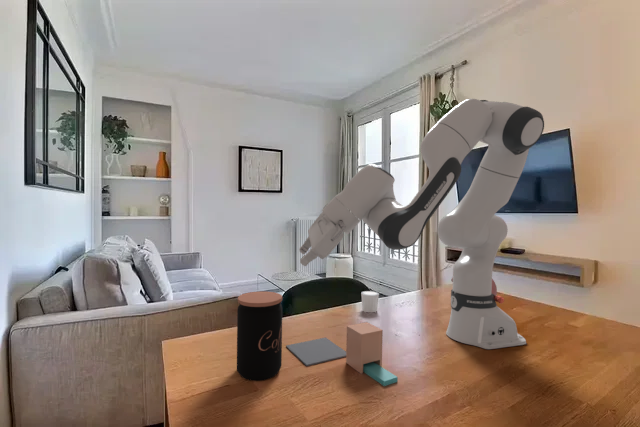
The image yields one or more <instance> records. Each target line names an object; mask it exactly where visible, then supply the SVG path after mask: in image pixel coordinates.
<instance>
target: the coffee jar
mask: <svg viewBox="0 0 640 427" xmlns="http://www.w3.org/2000/svg"><path fill="white" fill-rule="evenodd" d="M282 301H283V295H282V294H280V293H278V292H275V291H250V292H245V293H243V294H239V296H238V297H237V303H238V304H239V305H238V306H237V312H236V313H237V315H236V316H237V319H236V320H237V322H236V324H237V325H236V328H237V330H236V332H237V334H236V371H237V373H238V375H240V377H241V378H243V379H244V380H246V381H252V382H255V381H256V382H261V381H266V380H270V379H272V378H273V377H275V376H276V375H277V374H278V373H279V371H280V369H281V368H282V355H283V353H282V351H283V350H282V349H283V348H282V347H283V345H282V344H283V305H282V303H281V302H282Z"/></svg>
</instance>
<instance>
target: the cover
mask: <svg viewBox="0 0 640 427" xmlns="http://www.w3.org/2000/svg"><path fill="white" fill-rule="evenodd" d="M383 332H384V331H383V329H381V328H380V327H378V326H375V325H373V324H371V323H370V322H367V321H366V322H362V323H361V322H360V323H355V324H350V325H346V346H345V348H346V350H345V351H346V357H345V360H346V361H345V364H348V366H350V367H351V368H353V369H354V370H355V371H357V373H359V374H360V375H363V374H364V372H363V364H366V363H370V362H374V363H376V364H378V365H379V366H381V367H382V368H383V337H384V336H383Z"/></svg>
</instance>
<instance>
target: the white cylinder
mask: <svg viewBox="0 0 640 427" xmlns="http://www.w3.org/2000/svg"><path fill="white" fill-rule="evenodd" d="M360 295H361V308H362V309H361V310H362V312H363V311H364V312H363V313H366V312H375V313H377V312H378V307H379V306H378V305H379V297H380V293H379V292H377V291H373V290H364V291H361V293H360ZM376 311H377V312H376Z"/></svg>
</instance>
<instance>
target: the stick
mask: <svg viewBox="0 0 640 427" xmlns="http://www.w3.org/2000/svg"><path fill="white" fill-rule="evenodd" d="M363 374H366V375H367V376H369V377H370V378H371V379H373V380H374V381H375V382H377V383H379V384H381V386H383V387H386V386H389V385H392V384H395V383H397V382H398V376H397V375H395V374H394V373H392V372H390V371H389V370H388V369H385V368H384V367H383V366H382V367H381V366H379V365H378V364H376V363H374V362H370V363H366V364H363Z"/></svg>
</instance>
